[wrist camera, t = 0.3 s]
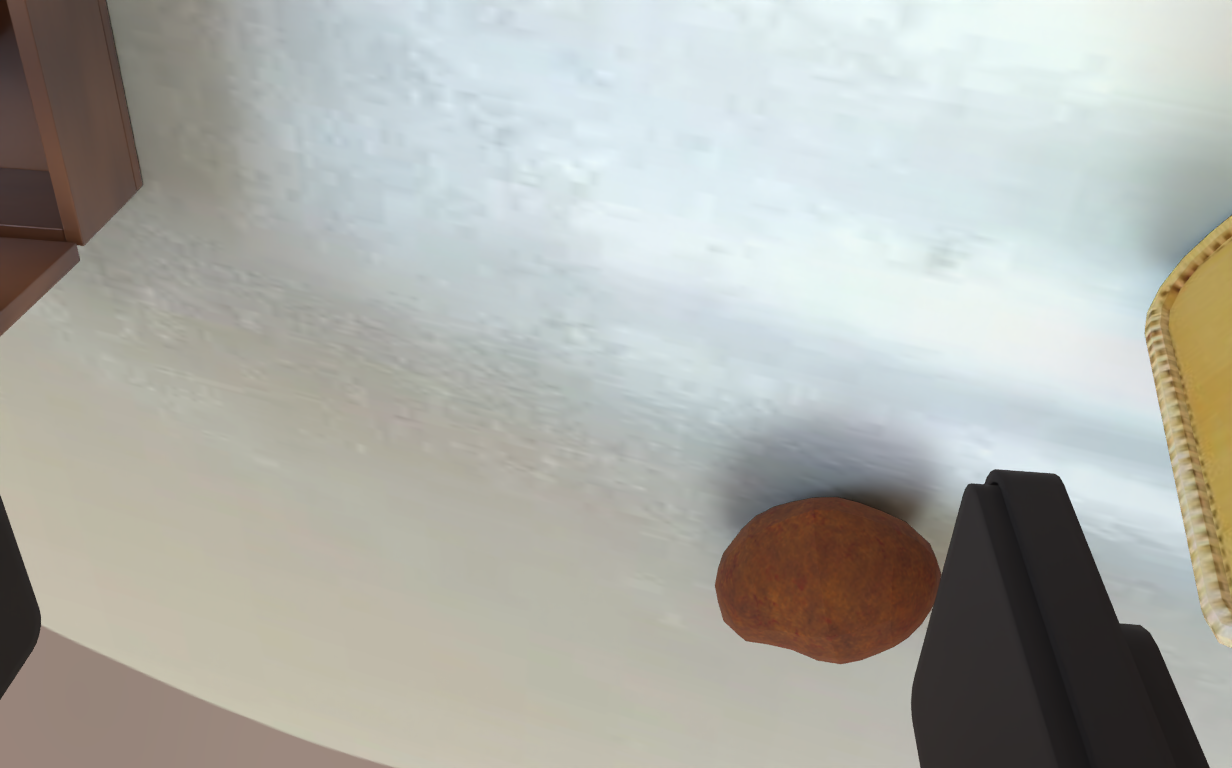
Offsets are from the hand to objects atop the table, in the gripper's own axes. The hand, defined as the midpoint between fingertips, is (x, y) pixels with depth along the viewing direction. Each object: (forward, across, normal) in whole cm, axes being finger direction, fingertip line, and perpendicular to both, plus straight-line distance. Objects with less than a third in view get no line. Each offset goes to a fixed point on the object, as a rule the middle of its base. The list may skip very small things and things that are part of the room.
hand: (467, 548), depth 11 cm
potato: (+37, -10, +31) cm, 49 cm away
